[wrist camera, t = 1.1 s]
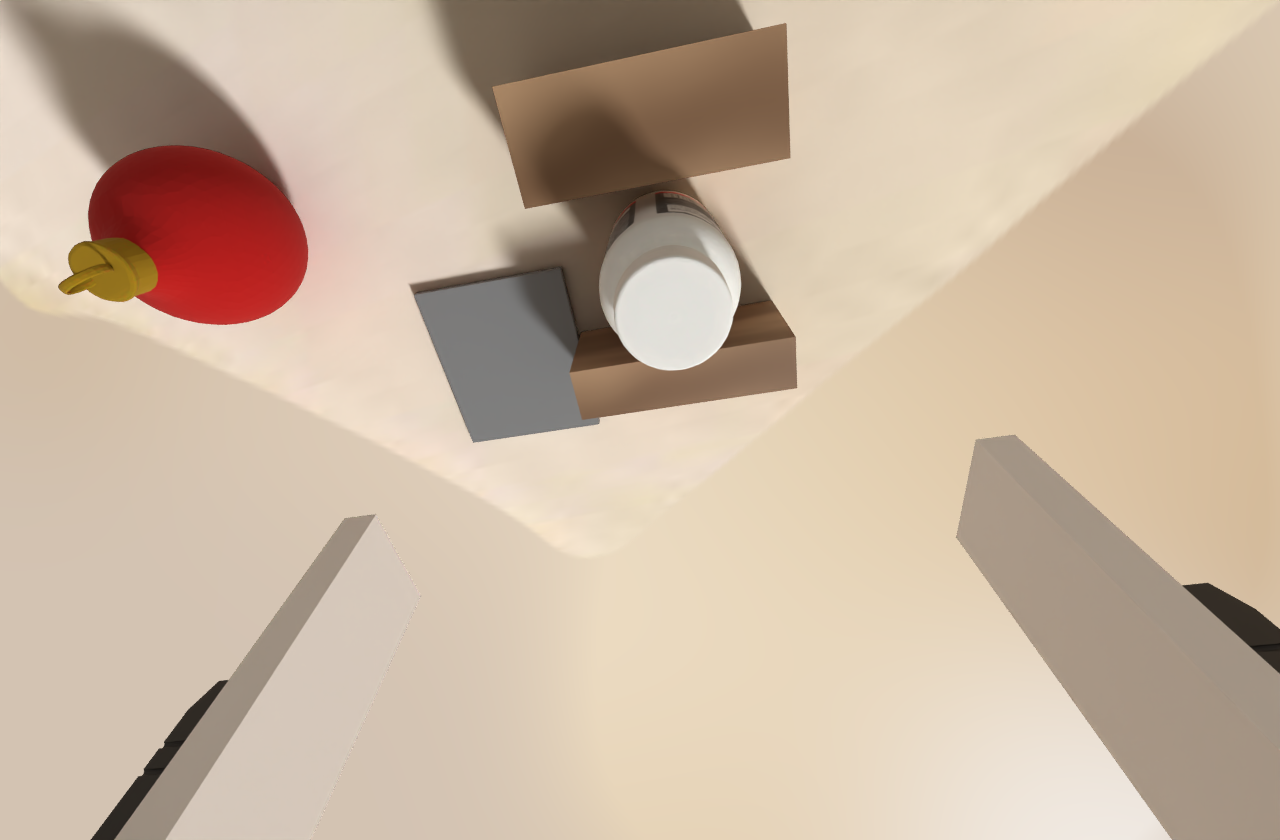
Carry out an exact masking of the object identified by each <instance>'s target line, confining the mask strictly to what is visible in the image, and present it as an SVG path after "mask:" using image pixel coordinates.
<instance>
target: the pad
mask: <svg viewBox="0 0 1280 840" xmlns="http://www.w3.org/2000/svg"><path fill="white" fill-rule="evenodd" d="M414 297H415V299H416V302H417V304H418V306H419V309H420V311H421V314H422V316H423V319H424V321H425V324H426V326H427V329H428V331H429V334H430V336H431V339H432V341H433V344H434V346H435V349H436V351H437V354H438V356H439V359H440V361H441V364H442V366H443V369H444V371H445V374H446V376H447V379H448V381H449V384H450V386H451V389H452V391H453V393H454V396H455V398H456V401H457V403H458V406H459V408H460V411H461V413H462V416H463V418H464V421H465V423H466V426H467V428H468V431H469V433H470V436H471V438H472V441H473V443H474V442H481V441H488V440H495V439H501V438H508V437H515V436H522V435H528V434H535V433H542V432H549V431H556V430H562V429H569V428H576V427H583V426H589V425H596V424H599V422H600V420H599V418H592V419H586V420H582V418H581V414H580V410H579V407H578V403H577V399H576V396H575V392H574V388H573V384H572V381H571V377H570V373H569V372H570V369H571V365H572V362H573V358H574V355H575V352H576V348H577V345H578V341H579V336H578V332H577V328H576V324H575V320H574V316H573V312H572V308H571V304H570V300H569V296H568V292H567V288H566V284H565V280H564V276H563V272H562V268H561V267H558V268H552V269H547V270H541V271H536V272H530V273H524V274H519V275H513V276H508V277H502V278H496V279H491V280H485V281H480V282H474V283H468V284H463V285H457V286H452V287H446V288H440V289H435V290H429V291H424V292H418V293H416V294H415V295H414Z"/></svg>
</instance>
